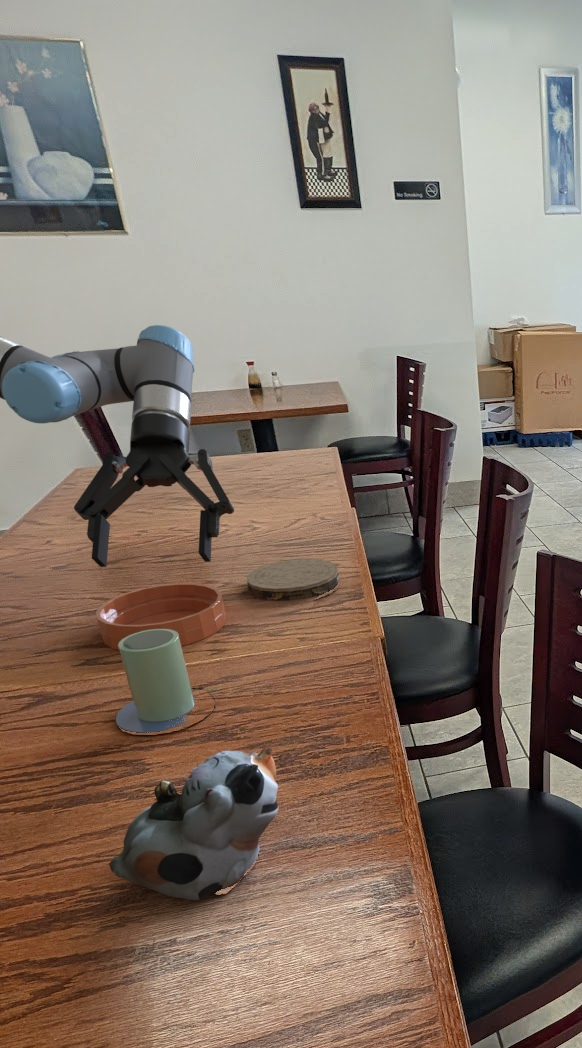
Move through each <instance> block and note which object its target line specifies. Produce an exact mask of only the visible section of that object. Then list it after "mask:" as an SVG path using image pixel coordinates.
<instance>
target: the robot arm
mask: <svg viewBox="0 0 582 1048" xmlns="http://www.w3.org/2000/svg"><path fill="white" fill-rule="evenodd" d="M194 373H195V365H194V346H193V344H192V342H191V341H190V339H189V338H188V337H187V336H186V335H185V334H184V333H183V332H181V331H180V330H178V329H176V328H173V327H171V326H167V325H163V324H162V325H161V324H154V325H149V326H147V327H145V328H144V329H142V330H141V331H140V333H139V334H138V337H137V340H136V345H127V346H121V347H119V348H118V347H117V348H105V349H94V350H84V351H79V350H77V351H75V350H73V351H71V352H65V353H61V354H56V355H54V356H52V357H51V356H47V355H45V354H43V353H40V352H38V351H36V350H33V349H30V348H28V347H26V346H23V345H21V344H19V343H17V342H14V341H13V340H10V339H8V338H5V337H4V336H0V399H2V400H4V401H5V403H6V404H7V405H8V407H9V408H10V409H11V410H12V411H13V412H14V413H15V414H16V415H17V416H18V417H20V418H21V419H23V420H25V421H28V422H30V423H34V424H49V423H50V424H51V423H60V422H62V421H65V420H68V419H71V417H75V416H77V415H80V414H82V413H83V414H84V413H86V412H89V411H93V410H95V409H99V408H100V407H101V408H102V407H104V406H108V405H114V404H123V403H128V402H130V403H131V402H133V403H132V414H131V427H130V437H129V438H130V440H129V452H128V454H127V455H126V456H121V455H119V456H118V455H115V454H114V453H113V452H111V451H107V452H105V454H104V455H103V460H102V465H101V466H100V468H99V470H98V471H97V472H96V474H95V475H94V477H93V478H92V479H91V481H90V482H89V483H88V485H87V487H85V490H84V491H83V492H82V494H81V495H80V497H79V498H78V500H77V501H76V503H75V504H74V506H73V510H74V511H75V512H76V513H77V514H78V515H79V517H80V518H81V519H83V520H84V521H87V532H86V536H87V538H88V540H90V541H91V543H92V548H91V549H92V550H91V559H92V560H93V562H95V563H96V564H97V565H98V566H99V567H100V568H106V567H107V564H108V552H109V542H110V541H109V540H110V529H111V524H110V522H109V521H108V518H109V517H111V516H112V515H113V514H114V513H115V512H116V511H117V510H118V509H119V508H120V507H121V506H123V504H124V503H125V502H126V501H128V499H130V497H132V496H133V494H135V493H136V492H140V491H141V490H142V489H143V488H144V487H145V486H147V487H148V488H157V487H159V486H161V487H172V486H173V485H174V484H176V483H177V484H178V485H179V487H181V488H182V489H183V490H184V491H186V492H187V493H188V494H189V495H190V497H192V498H193V499H194V500H195V501H196V502H197V503H198V505H199V506H201V507H202V508H203V509H200V512H199V513H200V514H199V535H198V554H199V556H200V557H201V559H202V560H203V561H204V562H205V563H210V562H211V561H212V543H213V542H212V539H214V538H218V537H219V535H220V521H221V520H220V519H221V517H222V516H223V515H226V514H227V515H232V514H233V513H234V512H235V508H234V506H233V504H232V503H231V501H230V499H229V497H228V495H227V494H226V492H225V490H224V488H223V487H222V484H220V481H219V480H218V478H217V476H216V475H215V473H214V469H213V461H212V458H211V456H210V455H209V453H208V452H207V450H206V449H205V448H200V449H199V450H198V451H197V453H193V454H189V453H190V440H191V439H190V437H191V432H190V429H191V415H192V392H193V391H192V390H193V379H194ZM192 465H193V466H195V468H196V469H197V470H199V471H202V473H203V476H204V477H205V479H206V480H207V482H208V484H209V485H210V487H211V489H212V491H213V492H214V493H213V494H215V496H216V498H217V500H218V501H217V502H214V501H213V500H212V499H211V498H210V497H209V496H208V495H207V494H206V493H205V492H204V491H203V490H202V489H201V488H200V487H199V486H198V485H197V484H196V483H195V482H194V481H193V480H192V479H191V478H190V477H188V476H187V474H186V472H188V470H189V469H190V468H191V467H192ZM127 467H128V468H127ZM125 468H127V469H126V470H125V471H123V470H124V469H125ZM119 474H122V476H121V478H120V479H119V480H118V481H117V479H118V477H119ZM135 477H136V478H137V479H135ZM116 481H117V482H116Z"/></svg>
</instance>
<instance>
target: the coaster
mask: <svg viewBox="0 0 582 1048" xmlns="http://www.w3.org/2000/svg"><path fill="white" fill-rule="evenodd" d="M196 691H197V690H196ZM198 705H199V704H198ZM189 712H190V711H189ZM184 715H185V714H184ZM184 715H183V716H184ZM186 715H187V714H186ZM183 716H182V717H181V716H180V718H179V717H178V718H175V719H171V720H172V721H171V720H170V721H169V720H167V721H161V722H148V721H144V720H141V719H140V718H139V717H138V716H137V712H136V709H135V705H134V702H133V700H132V701H130V702H129V703H127V704H125V705H124V706H123V707H122V708H121V709H119V711H118V712H117V714H116V716H115V724H116V726H117V725H118V727H120V728H121V729H123V730H125V731H130V732H136V733H147V732H148V733H149V732H150V733H151V732H160V731H164V730H168V729H170V728H173V727H179V725H180V724H182V726H183V723H186V722H189V721H190V720H189V721H188V720H187V719H188V718H187V717H188V716H189V715H188V716H186V717H185V716H184V717H183ZM190 716H191V715H190ZM183 718H187V719H185V720H187V721H185V722H184V719H183ZM177 719H178V720H177ZM182 719H183V720H182ZM193 720H194V719H193ZM180 721H181V722H180ZM182 721H183V722H182ZM176 722H177V723H176ZM178 722H179V723H178ZM178 724H179V725H178ZM172 725H173V726H172ZM174 725H175V726H174ZM184 725H185V724H184ZM166 726H167V727H166ZM168 726H169V727H168ZM180 726H181V725H180ZM118 727H117V728H118Z"/></svg>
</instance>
